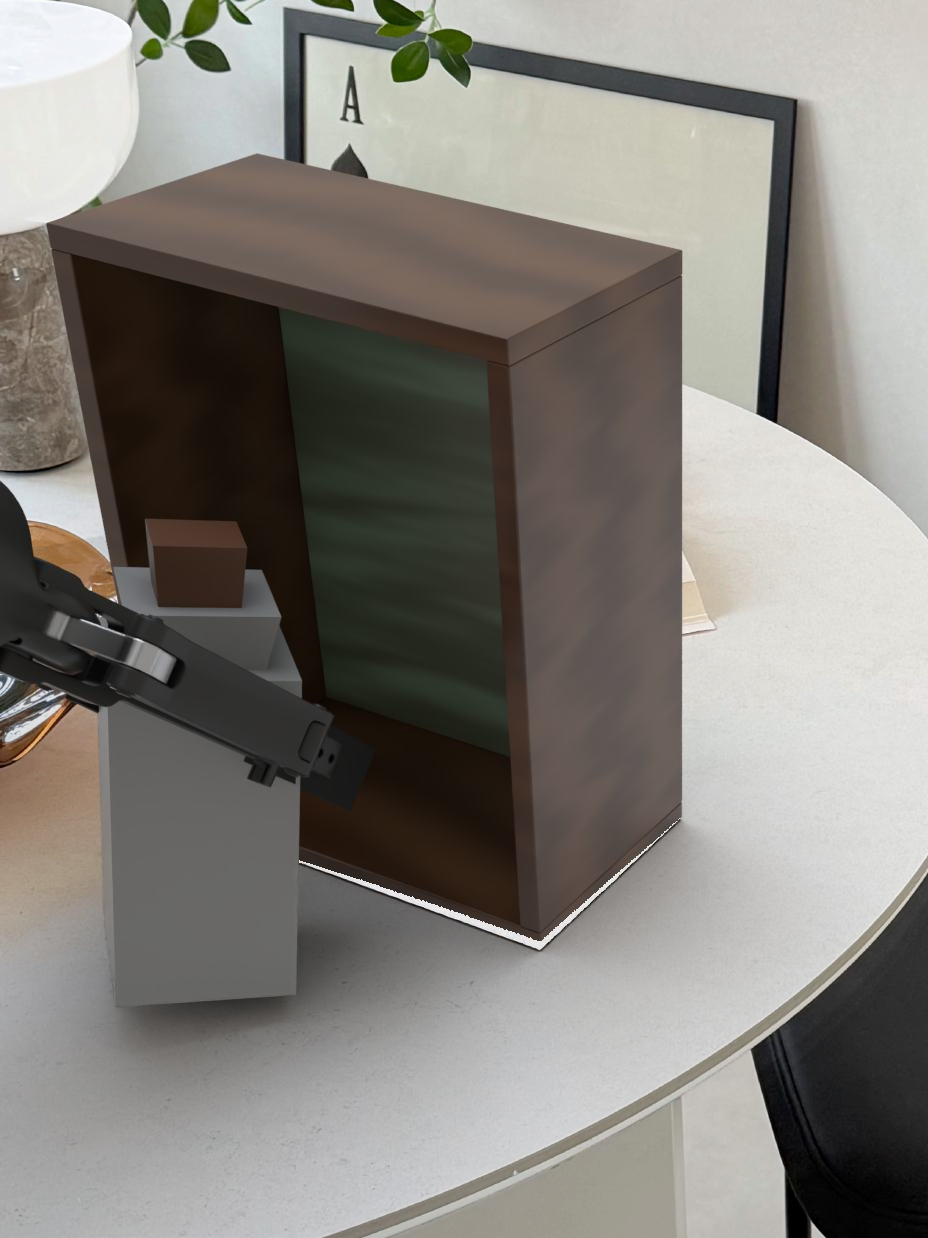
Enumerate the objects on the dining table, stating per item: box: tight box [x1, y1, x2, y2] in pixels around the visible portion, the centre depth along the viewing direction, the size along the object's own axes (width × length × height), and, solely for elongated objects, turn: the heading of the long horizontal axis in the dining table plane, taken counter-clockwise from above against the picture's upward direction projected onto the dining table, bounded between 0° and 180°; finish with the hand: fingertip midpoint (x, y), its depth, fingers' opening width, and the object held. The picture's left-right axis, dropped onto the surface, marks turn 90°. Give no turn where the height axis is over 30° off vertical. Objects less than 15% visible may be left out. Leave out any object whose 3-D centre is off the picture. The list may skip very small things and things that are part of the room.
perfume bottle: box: [96, 519, 302, 1008], centre depth 76 cm, size 7×7×18 cm
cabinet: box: [45, 153, 683, 941], centre depth 84 cm, size 12×21×27 cm, turn 65°
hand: (269, 747), depth 80 cm, fingers closed on perfume bottle, 8 cm apart
